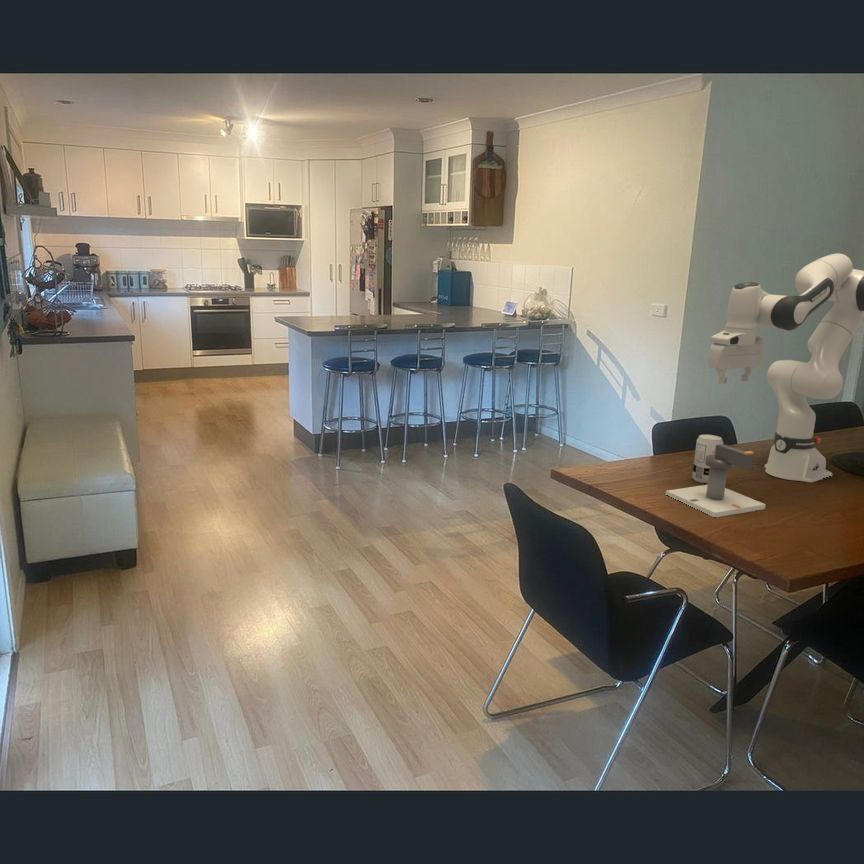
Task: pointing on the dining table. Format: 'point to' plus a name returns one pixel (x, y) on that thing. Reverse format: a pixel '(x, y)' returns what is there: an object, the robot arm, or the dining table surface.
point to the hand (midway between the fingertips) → (733, 382)
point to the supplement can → (704, 456)
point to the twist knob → (729, 458)
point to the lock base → (715, 504)
